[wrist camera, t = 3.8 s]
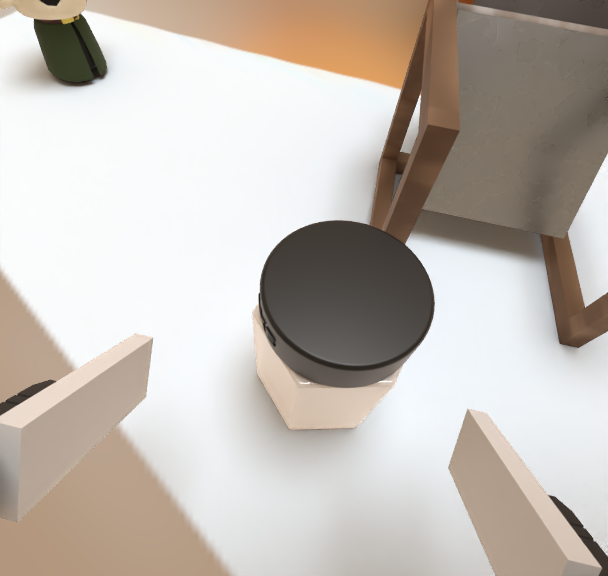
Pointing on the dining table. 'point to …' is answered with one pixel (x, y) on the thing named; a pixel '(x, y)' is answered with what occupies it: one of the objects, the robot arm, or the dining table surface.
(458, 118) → the trapdoor frame
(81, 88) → the dining table surface
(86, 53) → the character mug
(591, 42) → the trapdoor
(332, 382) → the jar
